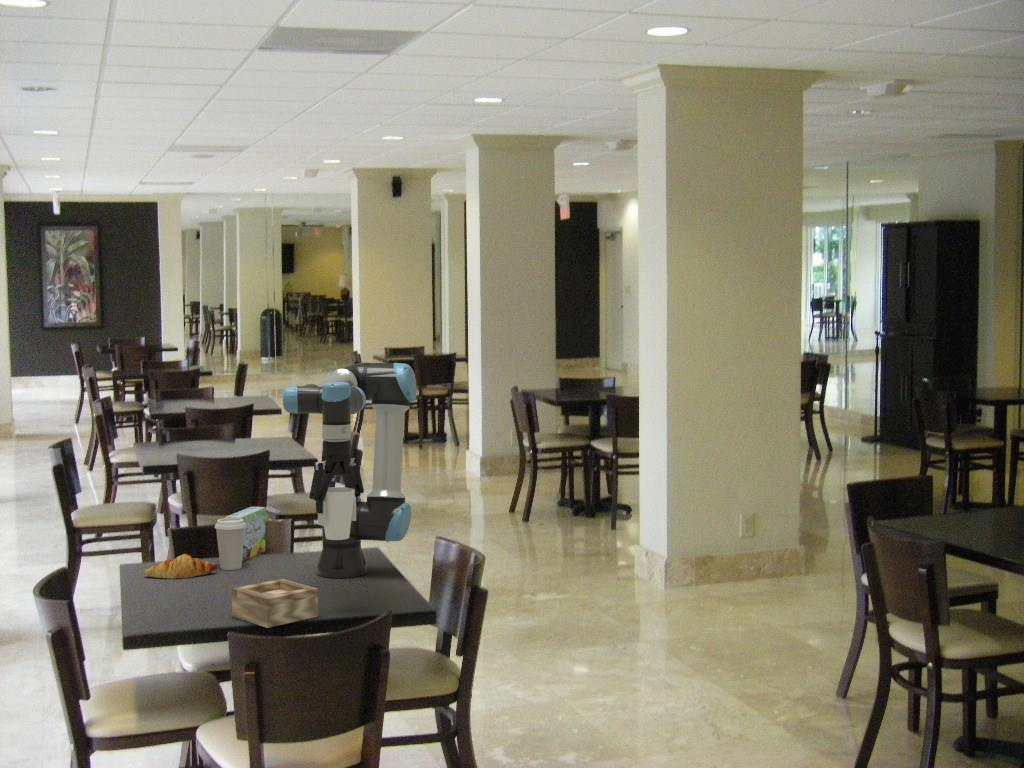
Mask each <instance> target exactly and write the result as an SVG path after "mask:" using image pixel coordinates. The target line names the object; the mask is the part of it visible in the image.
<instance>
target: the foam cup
mask: <svg viewBox="0 0 1024 768" xmlns="http://www.w3.org/2000/svg"><path fill="white" fill-rule="evenodd" d="M354 499H355V489H352V488H347V487H346V486H345V487H342V486H341V487H340V486H338V487H337V486H336V487H335V486H334V487H329V488H328V491H327V493H326V496H325V498H324V500H323V501H326V521H327V526H324V530H325V536H326V539H329V540H344V539H348V538H349V535H350V527H351V519H352V510H353V502H354Z"/></svg>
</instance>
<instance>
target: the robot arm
mask: <svg viewBox="0 0 1024 768" xmlns="http://www.w3.org/2000/svg"><path fill="white" fill-rule="evenodd" d="M416 379H417V378H416V375H415V372H414V370H413V368H412V367H411V365H409V364H407V363H401V362H399V363H398V362H358V363H354V364H350V365H346V366H343V367H340V368H338V369H336V370H335V369H334V370H333V371H332V372H331V373H330V374H329V376H326V377H324V378H321V379H318V380H316V381H313V382H311V383H308V384H305V385H293V386H292V385H291V386H287V387H285V389H284V390H283V394H282V406H283V410H284V411H285V412H286V413H289V414H290V413H291V414H298V415H299V414H321V415H322V423H321V424H322V431H321V433H322V434H321V436H322V437H321V438H322V439H323V441H322V454H323V459H322V461H315V462H314V463H313V469H314V470H313V476H312V481H311V486H310V491H309V497H308V498H309V499H310V500H313V501H315V512H316V514H317V525H319V526H321V528H322V531H321V532H322V536H321V537H322V549H321V553H320V557H319V559H318V563H317V565H316V574H317V575H318V576H320V577H323V578H330V579H331V578H333V579H348V578H355V577H361V576H364V575H365V574H367V572H368V565H367V562H366V558H365V556H364V552H363V550H362V549H363V548H362V541H373V542H374V541H377V542H378V541H379V542H387V543H388V542H389V543H390V542H399V541H400V542H401V541H402V540H403V539H404V538H405V537H406V535H407V534H408V530H409V527H410V524H411V518H412V511H411V509H412V508H411V507H412V506H411V505H410V503H409V502H406V496H405V495H404V494H403V493H402V491H401V489H402V487H401V486H402V468H403V451H404V450H403V447H404V446H403V445H404V428H405V427H404V425H405V413H406V411H408V410H409V409H410V408H411V407H410V403H413V402H414V401H415V400H416V398H417V394H418V392H417V391H418V388H417V387H418V386H417V380H416ZM367 401H371V408H373V410H374V411H375V412H376V413H375V428H374V429H375V430H374V450H373V453H374V455H373V468H372V470H373V471H372V489H371V491H370V492H369V493H368V494H367V496H366V501H362V498H361V495H362V494H363V493H364V492H365V490H364V483H363V480H362V476H361V475H362V474H361V470H360V458H358V457H356V458H355V457H351V456H350V455H351V454H352V445H351V443H352V441H351V440H349V439H351V437H352V435H351V433H352V432H351V431H352V430H351V429H352V427H351V426H352V424H351V422H352V421H351V420H352V419H351V415H355V414H357V413H359V412H360V411H362V410H363V409H364V407H365V406H366V403H367ZM338 475H340V476H341V478H342V480H343V482H344V484H345V487H347V488H352V489H355V499H354V502H353V510H352V519H351V527H350V535H349V538H348V539H344V540H329V539H326V536H325V530H324V526H327V521H326V501H323V500H324V498H325V496H326V493H327V491H328V488H330V485H331V483H332V480H333V479H334V478H335V476H338Z"/></svg>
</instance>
